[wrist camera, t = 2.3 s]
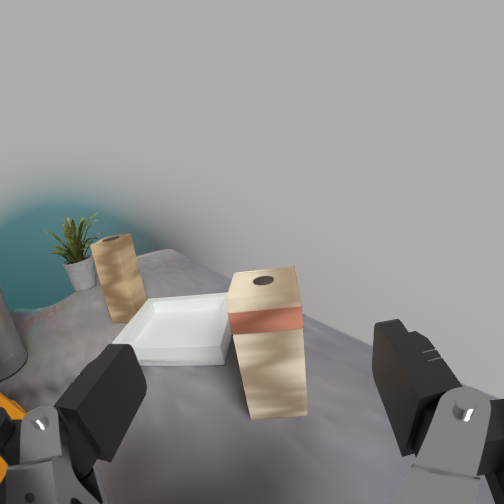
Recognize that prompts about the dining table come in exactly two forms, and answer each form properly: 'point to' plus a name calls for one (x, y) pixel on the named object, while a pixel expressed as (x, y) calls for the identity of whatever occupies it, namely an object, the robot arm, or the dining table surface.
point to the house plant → (77, 256)
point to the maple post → (269, 341)
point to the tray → (180, 331)
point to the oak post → (119, 276)
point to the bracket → (15, 413)
